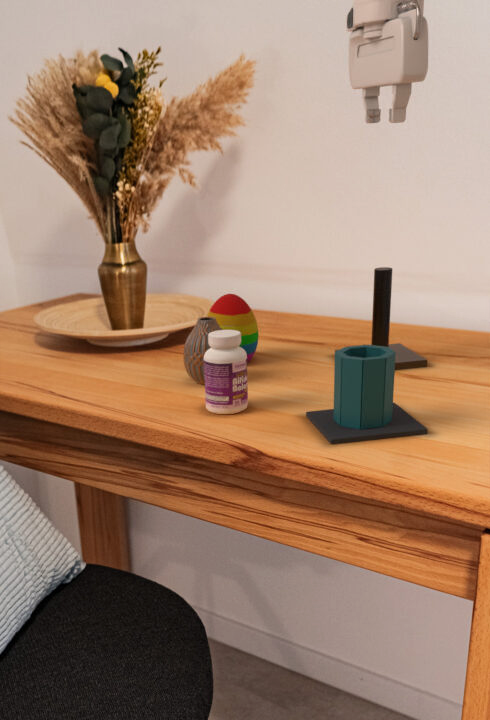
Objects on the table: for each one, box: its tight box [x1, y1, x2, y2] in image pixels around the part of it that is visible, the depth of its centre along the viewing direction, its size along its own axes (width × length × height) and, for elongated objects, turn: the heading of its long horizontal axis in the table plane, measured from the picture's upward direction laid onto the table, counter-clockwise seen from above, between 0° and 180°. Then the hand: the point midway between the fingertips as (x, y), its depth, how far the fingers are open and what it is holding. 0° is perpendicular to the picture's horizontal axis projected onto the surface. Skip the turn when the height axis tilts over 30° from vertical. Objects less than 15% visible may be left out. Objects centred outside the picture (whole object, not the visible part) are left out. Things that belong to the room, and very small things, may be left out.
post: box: [334, 266, 428, 371], centre depth 118 cm, size 10×10×13 cm
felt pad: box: [305, 402, 429, 445], centre depth 97 cm, size 11×10×1 cm
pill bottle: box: [204, 330, 249, 415], centre depth 104 cm, size 5×5×10 cm
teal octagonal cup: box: [333, 344, 396, 429], centre depth 95 cm, size 6×6×8 cm
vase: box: [182, 316, 222, 385], centre depth 116 cm, size 7×7×9 cm
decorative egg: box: [206, 293, 259, 363], centre depth 124 cm, size 8×8×10 cm
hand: (384, 123), depth 117 cm, fingers open, 8 cm apart
